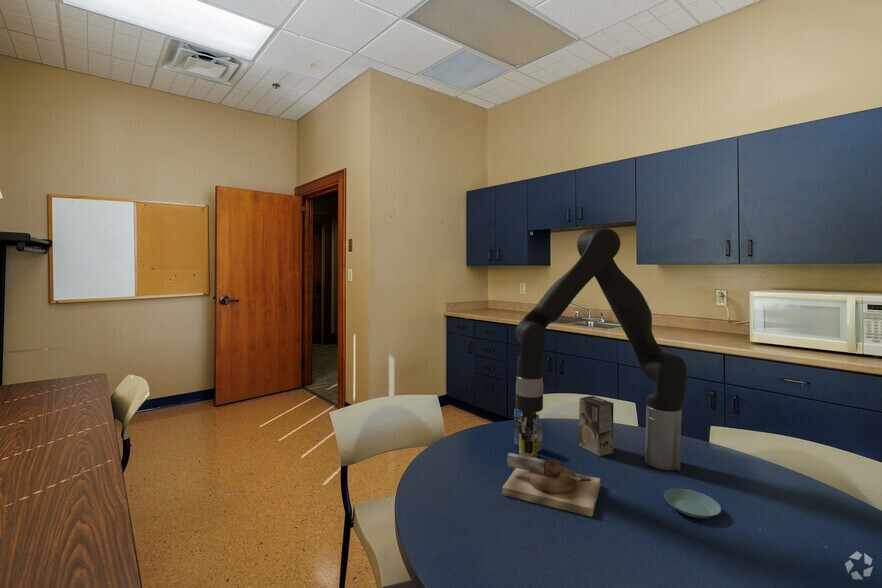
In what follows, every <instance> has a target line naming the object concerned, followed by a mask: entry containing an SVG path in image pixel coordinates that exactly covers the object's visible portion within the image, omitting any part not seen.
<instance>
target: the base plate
mask: <svg viewBox="0 0 882 588" xmlns="http://www.w3.org/2000/svg"><path fill="white" fill-rule="evenodd" d="M575 474H576V477H578V478H581V479H580V480H576V488H575V489H574V490H572V491H570V492H567V493H549V492H545V491H542V490H539V489H537V488H536V487H534V486H533V485H532V484H531V483H530V481H529V471H528V470H524V469H519V468H515V469H514V470H513V472H512V473H511V475H510V476H509V477H508V478H507V480H506V481H505V483H504V484H503V486H502V487H501V488H502V489H501V490H502V491H501V492H502V493H501V495H502V496H506V497H510V498H512V499H513V498H514V499H517V500H522V501H526V502H530V503H534V504H538V505H542V506H547V507H551V508H555V509H558V510H563V511H567V512H570V513H575V514H580V515H583V516H588V517H592V518H593V516H594V512H595V508H596V503H597V500H598V497H599V493H600V492H599V491H600V488H601V478H600V477H595V476H590V475H585V474H580V473H575Z"/></svg>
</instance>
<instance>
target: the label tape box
mask: <svg viewBox="0 0 882 588" xmlns="http://www.w3.org/2000/svg"><path fill="white" fill-rule="evenodd" d="M521 416H522V411H520V410H518V409H517V408H514V411H513V444H515V445H514V446H516V445H518V446H517V447H519V442H520V432H519V426H522V425H521ZM536 434H537V453H538V452H541V451H542V450H543V424H542V423H540V422H538V424H537V430H536Z"/></svg>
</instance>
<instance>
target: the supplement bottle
mask: <svg viewBox="0 0 882 588" xmlns="http://www.w3.org/2000/svg"><path fill="white" fill-rule="evenodd" d="M534 436H535V438H534V439H533V452H532V454H529V453H525V452H524V440H522V439H521V435H520V442H519V446H518V448H519V451H518V452H519V454H518V455H523V456H529V457H534V458H538V452H537V434H536V435H534Z"/></svg>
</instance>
